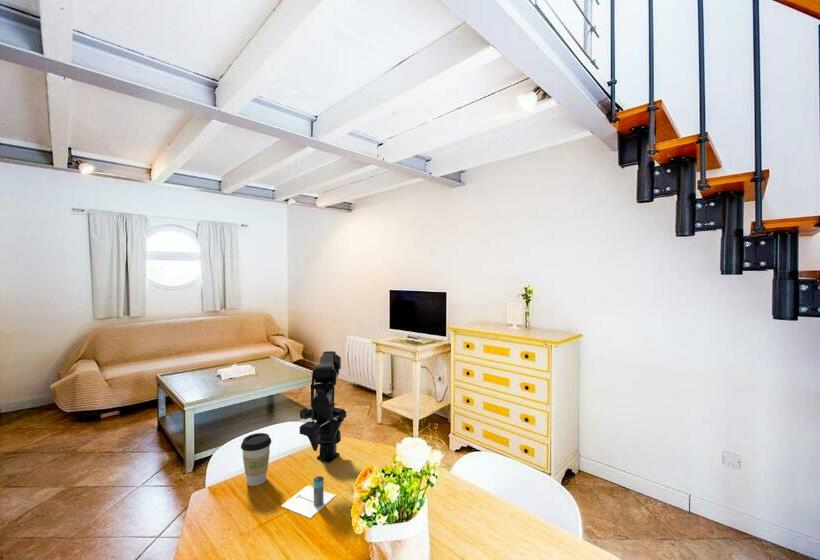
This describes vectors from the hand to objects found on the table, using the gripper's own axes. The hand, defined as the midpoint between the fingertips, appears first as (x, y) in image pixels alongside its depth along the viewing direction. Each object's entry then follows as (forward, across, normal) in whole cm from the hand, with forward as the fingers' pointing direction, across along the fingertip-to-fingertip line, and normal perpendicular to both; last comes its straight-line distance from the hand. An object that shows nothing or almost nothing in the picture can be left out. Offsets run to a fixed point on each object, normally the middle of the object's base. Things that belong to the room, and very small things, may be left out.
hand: (324, 444), depth 126 cm
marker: (+12, +12, +8) cm, 19 cm away
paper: (+12, +12, +4) cm, 17 cm away
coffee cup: (+12, +12, -20) cm, 26 cm away
